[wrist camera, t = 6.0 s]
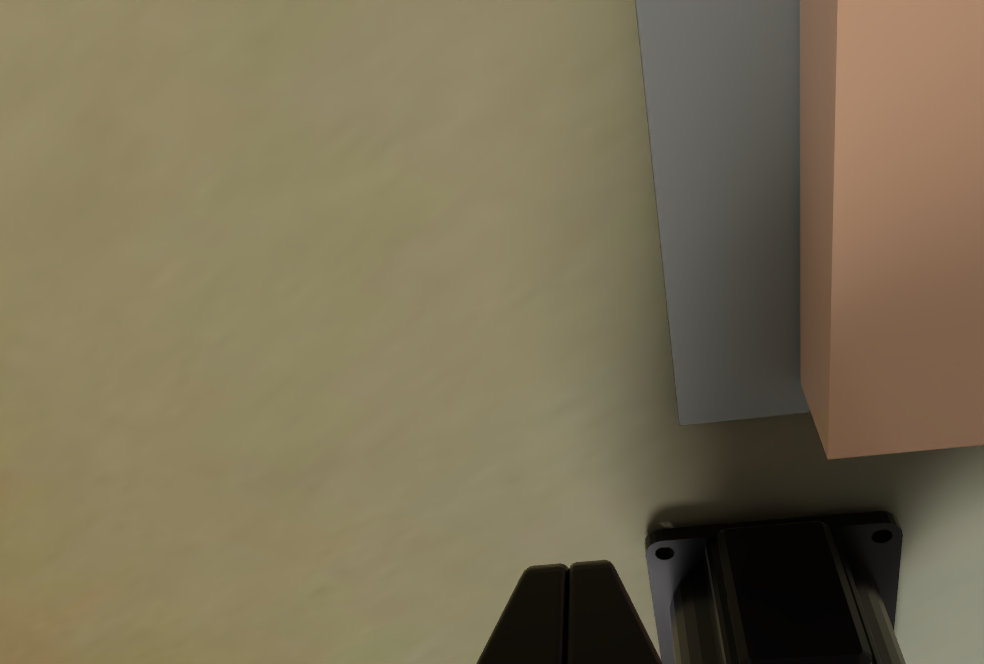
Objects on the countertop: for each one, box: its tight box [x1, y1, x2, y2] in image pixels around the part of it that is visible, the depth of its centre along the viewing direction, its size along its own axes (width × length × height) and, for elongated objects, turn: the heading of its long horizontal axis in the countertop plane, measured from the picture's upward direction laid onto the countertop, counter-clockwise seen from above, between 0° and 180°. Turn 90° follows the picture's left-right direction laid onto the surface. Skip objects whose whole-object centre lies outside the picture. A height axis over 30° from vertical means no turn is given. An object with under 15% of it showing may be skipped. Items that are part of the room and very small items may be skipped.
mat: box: [635, 0, 811, 426], centre depth 16 cm, size 14×12×1 cm
